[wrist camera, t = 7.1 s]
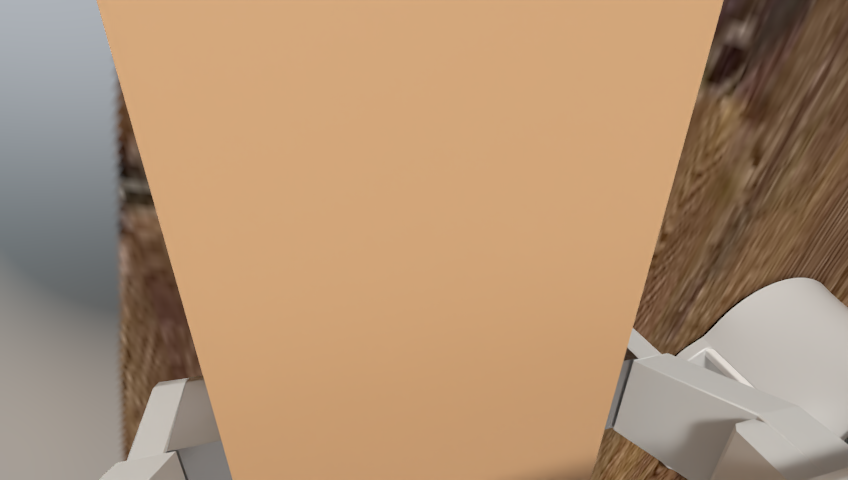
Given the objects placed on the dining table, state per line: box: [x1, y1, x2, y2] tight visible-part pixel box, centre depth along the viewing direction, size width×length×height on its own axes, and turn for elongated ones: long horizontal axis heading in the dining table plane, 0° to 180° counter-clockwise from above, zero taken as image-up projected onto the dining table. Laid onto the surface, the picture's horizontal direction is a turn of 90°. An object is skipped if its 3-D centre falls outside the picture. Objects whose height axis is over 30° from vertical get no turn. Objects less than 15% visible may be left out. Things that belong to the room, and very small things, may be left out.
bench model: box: [97, 0, 723, 480], centre depth 11 cm, size 14×6×8 cm, turn 179°
